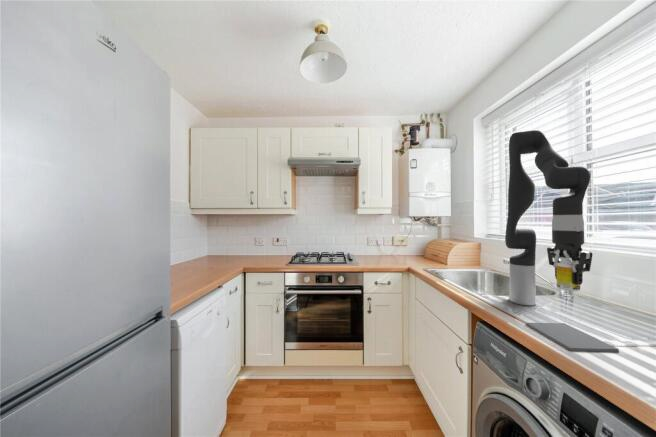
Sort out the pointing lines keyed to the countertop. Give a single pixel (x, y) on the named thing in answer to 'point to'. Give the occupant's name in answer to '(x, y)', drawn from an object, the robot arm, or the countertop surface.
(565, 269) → the supplement bottle
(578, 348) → the mat
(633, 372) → the countertop surface
